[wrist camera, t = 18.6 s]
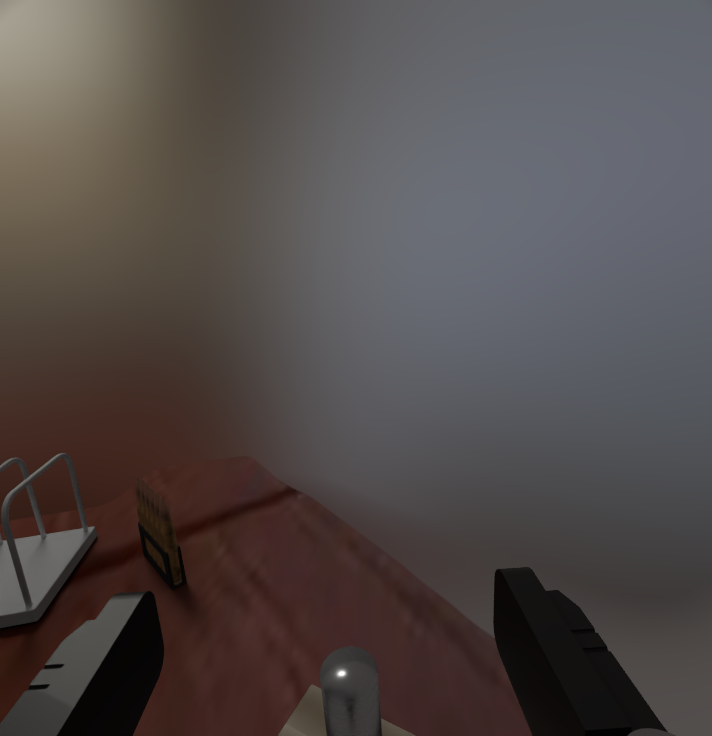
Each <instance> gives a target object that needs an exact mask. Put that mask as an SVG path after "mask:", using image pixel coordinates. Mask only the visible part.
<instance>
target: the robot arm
mask: <svg viewBox="0 0 712 736" xmlns="http://www.w3.org/2000/svg"><path fill="white" fill-rule="evenodd" d="M493 623H494V634H495V640H496V644H497V648H498V651H499V654H500V657H501V659H502V662H503V664H504V667H505V669H506V672H507V674H508V677H509V679H510V681H511V684H512V686H513V689H514V691H515V694H516V696H517V699H518V701H519V703H520V706H521V708H522V711H523V713H524V716H525V718H526V721H527V723H528V726H529V728H530V730H531V733H532V735H533V736H675V735H673V734H670V733H668V732H667V731H666V729H665V728H664V727H663V725H662V724H661V722H660V721H659V720H658V718H657V717H656V715H655V714H654V713H653V711H652V710H651V709H650V707H649V705H648V704H647V703H646V701H645V700H644V698H643V697H642V695H641V694H640V693H639V691H638V690H637V688H636V687H635V686H634V684H633V683H632V682H631V680H630V679H629V677H628V676H627V674H626V673H625V671H624V670H623V668H622V667H621V666H620V664H619V663H618V661H617V660H616V658H615V657H614V656H613V654H612V653H611V652H610V651H608V649H607V646H606V644H605V643H604V642H603V640H602V639H601V637H600V636H599V634H598V633H595V630H594V627H593V626H592V625H591V623H590V622H589V620H588V619H587V617H586V616H585V614H584V613H583V612H582V610H581V609H580V608H579V607H578V606H577V605H576V604H574V603H573V602H572V601H571V600H570V599H568V598H567V597H566V596H565V595H563V594H562V593H561V592H560V591H558V590H553V591H545V589H544V588H543V586H542V584H541V583H540V581H539V580H538V579H537V577H536V575H535V573H534V572H533V571H532V569H531V568H529V567H523V568H508V569H497V570H496V572H495V582H494V621H493ZM163 658H164V643H163V638H162V632H161V627H160V622H159V616H158V611H157V606H156V600H155V597H154V594H153V593H152V592H150V591H146V592H131V593H118V594H115V595H114V596H113V597H112V598H111V599H110V600H109V602H108V603H107V604H106V606H105V607H104V609H103V610H102V612H101V613H100V614H99V616H98V617H97V619H96V620H90V621H86V622H85V623H84V624H83V625H82V626H80V627H79V628H78V629H77V630H76V631H74V632H73V633H72V634H71V635H70V636H68V637H67V638H66V639H65V640H64V641H63V642H62V643H61V644H60V646H59V647H58V648H57V650H56V651H55V652H54V654H53V655H52V656H51V658H50V659H49V660H48V662H47V663H46V664H45V668H44V670H41V671H40V672H39V673H38V675H37V676H36V677H35V679H34V680H33V681H32V683H31V684H30V685H29V686H30V687H29V690H28V691H25V692H24V693H23V695H22V696H21V697H20V699H19V700H18V701H17V703H16V704H15V705H14V706H13V708H12V709H11V710H10V712H9V713H8V714H7V716H6V717H5V718H4V720H3V721H2V722H1V724H0V736H133V733H134V731H135V729H136V727H137V725H138V722H139V720H140V718H141V716H142V714H143V711H144V709H145V707H146V705H147V703H148V700H149V698H150V696H151V694H152V691H153V689H154V687H155V685H156V683H157V680H158V678H159V675H160V672H161V669H162V664H163Z"/></svg>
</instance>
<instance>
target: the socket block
mask: <svg viewBox="0 0 712 736" xmlns="http://www.w3.org/2000/svg"><path fill="white" fill-rule="evenodd" d="M381 726H382V736H415V735H413V734H411V733H409V732H407V731H405V730H403V729H401V728H399V727H397V726H395V725H393V724H391V723H389V722H387V721H385V720H383V719H381ZM278 736H327V733H326V725H325V716H324V708H323V699H322V691H321V689H320V688H318V687H316V686H314V685H311V686H310V688H309V689H308V691H307V692H306V694H305V695H304V697H303V698H302V700H301V701H300V703H299V704H298V706H297V708H296V709H295V711H294V712H293V714H292V715H291V717H290V718H289V720H288V721H287V723H286V724H285V726H284V727H283V729H282V730H281V732H280V733H279V735H278Z"/></svg>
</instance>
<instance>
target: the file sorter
mask: <svg viewBox="0 0 712 736" xmlns="http://www.w3.org/2000/svg"><path fill="white" fill-rule="evenodd" d="M60 458H64V459H65V461H66V463H67V465H68V469H69V473H70V477H71V481H72V485H73V489H74V494H75V498H76V501H77V506H78V510H79V515H80V519H81V523H82V526H83V528H82V529H75V530H70V531H63V532H57V533H51V534H46V533H45V530H44V526H43V522H42V519H41V515H40V512H39V508H38V505H37V501H36V498H35V495H34V491H33V488H32V484H31V482H32V481H33V480H35V479H36V478H37V477H38V476H40V475H41V474H42V473H43V472H44V471H46V470H47V469H48V468H49V467H50V466H52V465H53V464H54V463H55V462H57V461H58V460H59V459H60ZM14 462H15V463H17V464H18V465H19V466H20V468H21V471H22V474H23V478H24V481H23V482H22V483H20V484H19V485H18V486H17V487H15V488H14V489H13V490H12V491H11V492H10V493H9V494H8V495H7V496H6V498H5V500H4V502H3V506H2V509H1V520H2V525H3V530H4V533H5V537H6V541H3V540H2V537H1V534H0V628H4V627H9V626H14V625H20V624H25V623H31V622H35V621H38V620H39V619H40V617H41V616H42V615H43V613H44V612H45V610H46V609H47V607H48V606H49V604H50V603H51V601H52V600H53V599H54V597H55V596H56V594H57V593H58V591H59V590H60V589H61V587H62V586H63V584H64V583H65V581H66V580H67V578H68V577H69V576H70V574H71V573H72V571H73V570H74V568H75V567H76V565H77V564H78V563H79V561H80V560H81V558H82V557H83V555H84V554H85V553H86V551H87V550H88V548H89V547H90V545H91V544H92V543H93V541H94V540H95V538H96V537H97V533H96V529H95V527H88V526H87V521H86V517H85V513H84V508H83V504H82V500H81V496H80V491H79V487H78V483H77V478H76V474H75V471H74V466H73V463H72V461H71V458H70V457H69V455H67V454H64V453H61V454H58V455H56V456H55V457H53V458H52V459H51V460H50V461H48V462H47V463H46V464H45V465H43V466H42V467H41V468H40V469H38V470H37V471H36V472H35V473H33V474H32V475H31V476H29V474H28V471H27V467H26V465H25V463H24V462H23V461H22V460H21V459H19V458H11V459H9V460H7V461H6V462H5V463H3V464H2V465H0V472H1V471H2V470H4V469H5V468H7V467H8V466H9V465H11V464H12V463H14ZM25 487H27V491H28V495H29V497H30V501H31V504H32V508H33V511H34V515H35V518H36V521H37V525H38V529H39V531H40V534H41V535H38V536H32V537H25V538H19V539H14V537H13V533H12V530H11V527H10V522H9V506H10V503H11V501H12V499H13V498H14V497H15V496H16V494H18V493H19V492H20V491H21V490H23V489H24V488H25Z"/></svg>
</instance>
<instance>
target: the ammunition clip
mask: <svg viewBox="0 0 712 736" xmlns="http://www.w3.org/2000/svg"><path fill="white" fill-rule="evenodd" d="M136 496H137V511H138V516H139V523H138V526H139V531H140V537H141V542H142V548H143V553H144V555H145V557H146V558H147V559H148V560H149V562H150V563H151V564H152V565H153V567H154V568H155V569H156V570H157V572H158V573H159V574H160V576H161V577H162V578H163V579H164V581H165V582H166V583H167V584H168V586H169V587H170V588H171V589H172V590H173V589H175V588H177V587H179V586H181V585H182V584H184V583H186V582H187V581H186V576H185V571H184V565H183V560H182V555H181V550H180V546H179V545H178V544H177V540H176V534H175V529H174V526H173V523H172V520H171V517H170V512H169V508H168V506H167V503H166V501H165V500H164V499H163V498H161V497H160V496H159V494H158V493H155V491H154V490H153V489H151V488H150V487H149V485H148V484H146V483H145V482H144V481H143V480H141V478H140V477H137V479H136Z"/></svg>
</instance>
